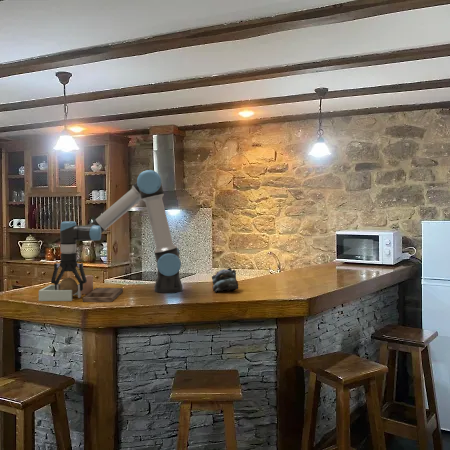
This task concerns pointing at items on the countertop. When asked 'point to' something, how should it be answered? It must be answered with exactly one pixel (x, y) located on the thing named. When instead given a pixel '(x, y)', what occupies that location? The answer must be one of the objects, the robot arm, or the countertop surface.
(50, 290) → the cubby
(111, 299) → the brown wooden tray
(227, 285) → the grey animal figurine
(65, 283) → the natural sponge
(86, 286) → the brown rounded block
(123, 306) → the countertop surface
